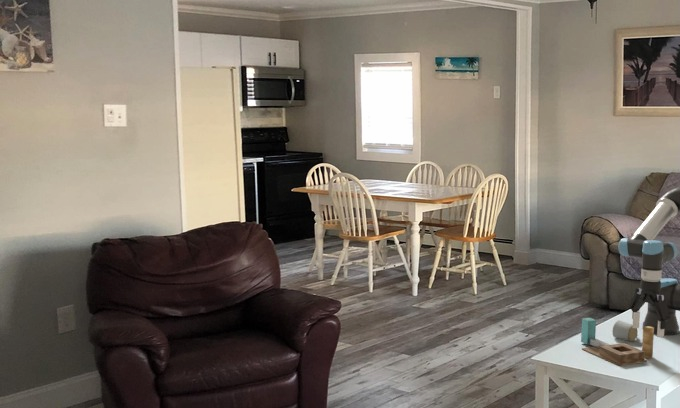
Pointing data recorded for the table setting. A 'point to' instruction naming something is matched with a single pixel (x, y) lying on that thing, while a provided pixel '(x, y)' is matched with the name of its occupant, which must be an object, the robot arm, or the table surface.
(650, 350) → the dowel
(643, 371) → the table surface
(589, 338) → the teal l-shaped block
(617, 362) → the dock
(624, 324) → the grey cylinder
